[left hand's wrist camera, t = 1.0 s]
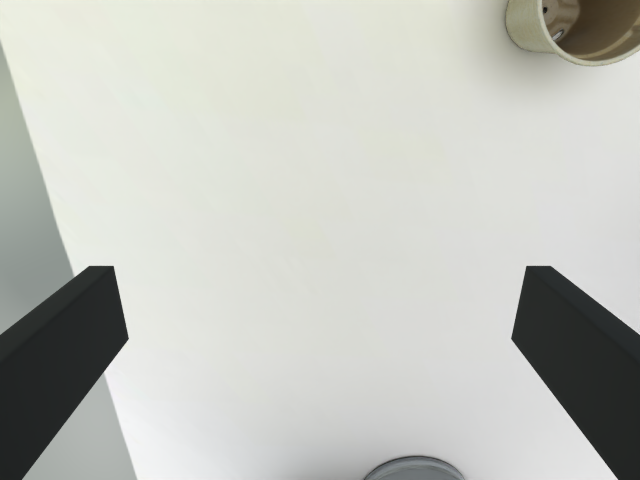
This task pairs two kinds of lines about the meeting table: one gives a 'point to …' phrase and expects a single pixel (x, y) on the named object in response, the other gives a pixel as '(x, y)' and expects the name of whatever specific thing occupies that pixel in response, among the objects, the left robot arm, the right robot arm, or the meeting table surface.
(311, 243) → the meeting table surface
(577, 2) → the flower pot
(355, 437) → the meeting table surface
